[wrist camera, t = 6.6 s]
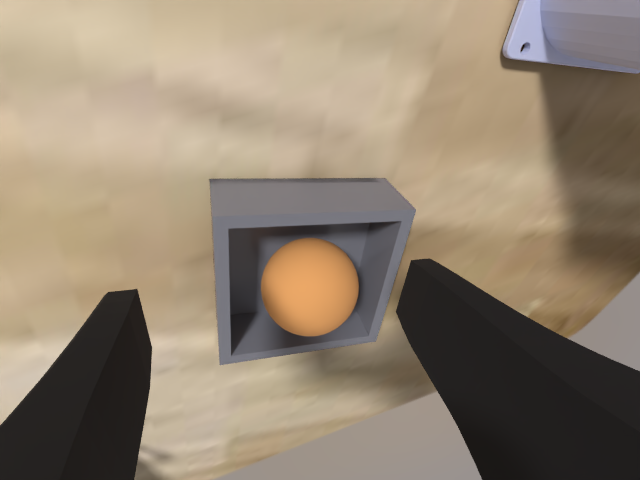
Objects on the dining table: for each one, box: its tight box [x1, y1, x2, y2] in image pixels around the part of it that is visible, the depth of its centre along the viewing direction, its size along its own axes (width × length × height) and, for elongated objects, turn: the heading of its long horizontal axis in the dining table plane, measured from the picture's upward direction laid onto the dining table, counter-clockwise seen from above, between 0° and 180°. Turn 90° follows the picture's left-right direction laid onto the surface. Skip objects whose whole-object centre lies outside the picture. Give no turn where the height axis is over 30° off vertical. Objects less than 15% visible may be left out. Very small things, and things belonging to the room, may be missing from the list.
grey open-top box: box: [210, 178, 416, 365], centre depth 19 cm, size 9×9×4 cm
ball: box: [261, 238, 359, 336], centre depth 18 cm, size 5×5×5 cm
